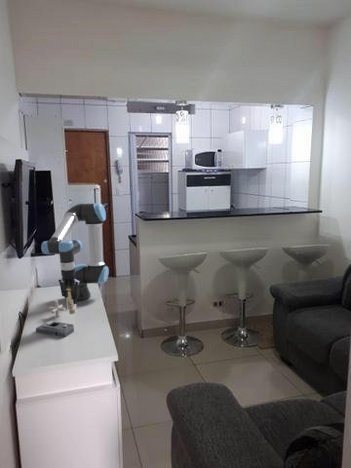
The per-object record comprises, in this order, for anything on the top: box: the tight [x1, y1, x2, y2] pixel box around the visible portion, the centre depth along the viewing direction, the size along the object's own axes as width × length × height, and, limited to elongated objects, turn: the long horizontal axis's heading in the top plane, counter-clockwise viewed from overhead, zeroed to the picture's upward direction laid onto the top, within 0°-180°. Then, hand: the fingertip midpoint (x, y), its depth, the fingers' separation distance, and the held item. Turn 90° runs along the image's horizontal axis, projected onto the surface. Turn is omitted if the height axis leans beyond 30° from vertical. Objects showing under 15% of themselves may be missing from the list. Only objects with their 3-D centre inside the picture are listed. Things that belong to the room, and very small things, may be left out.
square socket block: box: [35, 321, 75, 338], centre depth 193 cm, size 7×20×5 cm, turn 67°
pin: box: [66, 287, 76, 315], centre depth 200 cm, size 4×4×15 cm
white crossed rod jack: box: [48, 300, 66, 318], centre depth 213 cm, size 10×10×10 cm
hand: (71, 308), depth 201 cm, fingers closed on pin, 3 cm apart
